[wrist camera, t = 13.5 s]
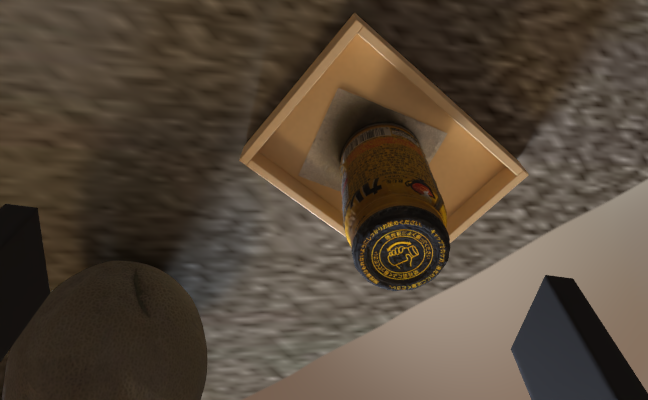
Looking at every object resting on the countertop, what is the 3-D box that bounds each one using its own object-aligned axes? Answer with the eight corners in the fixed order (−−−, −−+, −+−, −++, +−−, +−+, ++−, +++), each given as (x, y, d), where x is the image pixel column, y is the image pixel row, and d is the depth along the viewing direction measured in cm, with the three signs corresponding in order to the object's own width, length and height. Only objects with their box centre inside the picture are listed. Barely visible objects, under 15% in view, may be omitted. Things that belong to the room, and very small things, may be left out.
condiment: (399, 213, 40) (426, 320, 29) (298, 174, 38) (287, 273, 28) (447, 132, 36) (496, 219, 26) (338, 86, 35) (343, 159, 24)
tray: (243, 146, 38) (238, 160, 35) (354, 12, 33) (356, 19, 31) (402, 262, 43) (406, 281, 40) (517, 159, 38) (529, 174, 36)
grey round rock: (27, 271, 43) (-104, 426, 30) (163, 203, 40) (84, 344, 27) (132, 376, 49) (61, 543, 36) (258, 324, 46) (230, 488, 33)
